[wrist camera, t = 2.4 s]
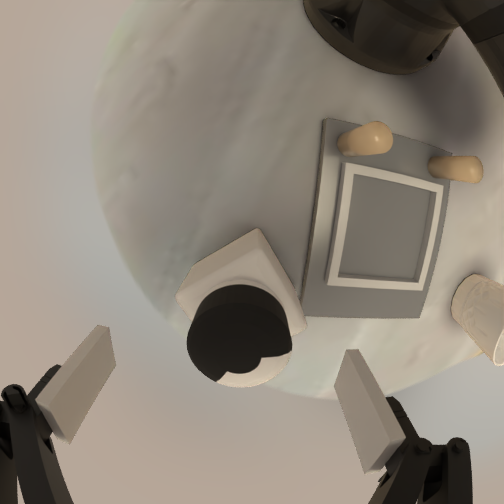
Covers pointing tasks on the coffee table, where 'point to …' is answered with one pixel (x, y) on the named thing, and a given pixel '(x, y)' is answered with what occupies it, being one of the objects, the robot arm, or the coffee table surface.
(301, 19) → the coffee table surface
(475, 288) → the white cup
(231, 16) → the coffee table surface
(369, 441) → the robot arm
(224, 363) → the medicine bottle
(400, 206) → the peg board
